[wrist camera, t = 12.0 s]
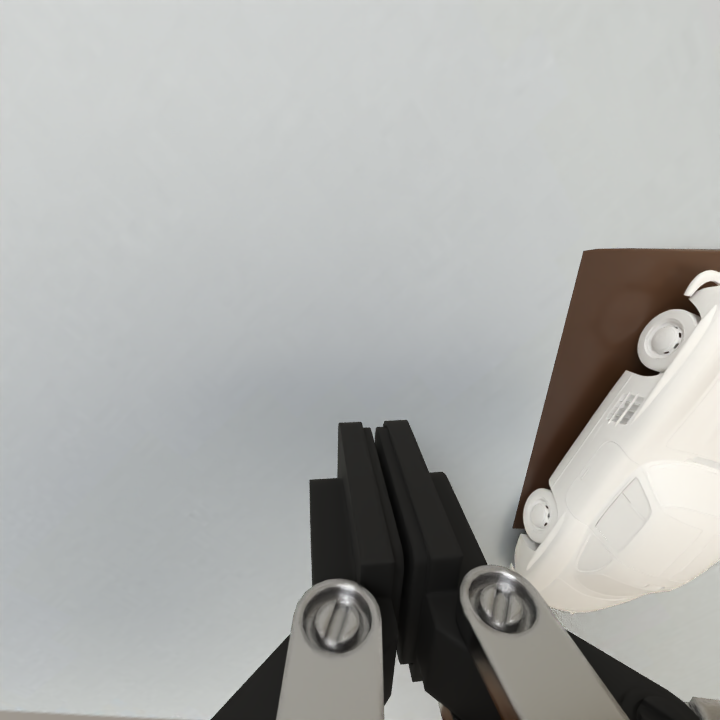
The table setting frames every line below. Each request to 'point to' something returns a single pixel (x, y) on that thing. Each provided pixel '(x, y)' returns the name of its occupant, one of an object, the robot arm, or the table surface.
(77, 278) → the table surface
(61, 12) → the table surface
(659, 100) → the table surface
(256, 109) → the table surface
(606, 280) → the ramp
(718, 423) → the toy car
